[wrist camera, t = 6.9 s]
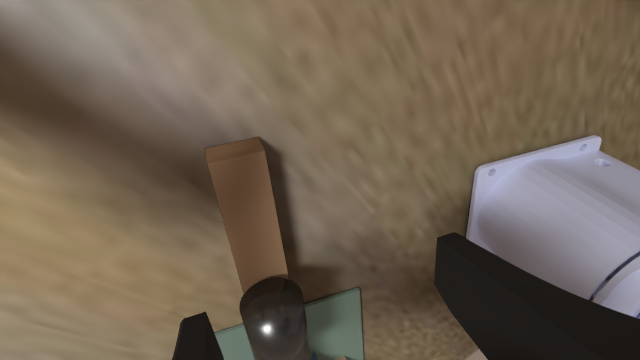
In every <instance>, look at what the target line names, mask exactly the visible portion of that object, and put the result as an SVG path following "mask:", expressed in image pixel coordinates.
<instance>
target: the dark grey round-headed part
mask: <svg viewBox="0 0 640 360" xmlns="http://www.w3.org/2000/svg"><path fill="white" fill-rule="evenodd" d="M240 313H241V316H242V320H243V323H244V327H245V330H246V333H247V337H248V340H249V343H250V347H251V350H252V354H253V357H254V360H318V359H317V356H316V353H313V354H312V350H311V343H310V337H309V331H308V325H307V319H306V313H305V307H304V301H303V295H302V292H301V289H300V288H299V286H298V285H297V284H295V283H294V282H293V281H291V280H288V279H285V278H268V279H264V280H262V281H259V282H257V283H256V284H254V285H252V286H251V287H250V288H249V289H248V290H247V291H246V292H245V293H244V295H243V297H242V299H241V301H240Z"/></svg>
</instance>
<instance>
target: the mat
mask: <svg viewBox="0 0 640 360" xmlns="http://www.w3.org/2000/svg"><path fill="white" fill-rule="evenodd" d="M304 307H305V313H306V319H307V325H308V331H309V337H310V343H311V350H312V354H313V353H316V356H317V359H318V360H334V359H337V358H340V357H342V356H345V358H346V360H364V358H363V340H362V322H361V304H360V289H359V288H358V287H357V288H354V289H351V290H348V291H345V292H342V293H338V294H335V295H332V296H329V297H326V298H323V299H319V300H316V301H313V302H310V303H307V304H304ZM214 334H215V336H216V339H217V341H218V344H219V346H220V349H221V351H222V354H223V357H224V360H254V357H253V354H252V350H251V347H250V343H249V340H248V337H247V333H246V330H245V327H244V324H241V325H238V326H234V327H231V328H228V329H225V330H222V331H219V332H216V333H214Z"/></svg>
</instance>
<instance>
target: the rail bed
mask: <svg viewBox="0 0 640 360" xmlns="http://www.w3.org/2000/svg"><path fill="white" fill-rule="evenodd" d="M205 153H206V159H207V165H208V168H209V172H210V175H211V179H212V182H213V186H214V190H215V193H216V197H217V200H218V204H219V208H220V211H221V215H222V218H223V222H224V225H225V229H226V233H227V236H228V240H229V243H230V247H231V250H232V254H233V258H234V261H235V265H236V268H237V272H238V276H239V279H240V283H241V286H242V290H243V293H245V292H246V291H247V290H248V289H249V288H250V287H251V286H252V285H254V284H256V283H257V282H259V281H262V280H264V279H268V278H285V279H288V280H289V277H288V272H287V267H286V261H285V256H284V250H283V245H282V240H281V234H280V229H279V224H278V218H277V213H276V208H275V202H274V197H273V192H272V186H271V181H270V176H269V170H268V165H267V159H266V154H265V150H264V148H263V145H262V143H261V141H260V139H259V137H254V138H250V139H245V140H241V141H236V142H232V143H227V144H223V145H218V146H214V147H209V148H205Z"/></svg>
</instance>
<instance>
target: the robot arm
mask: <svg viewBox="0 0 640 360" xmlns="http://www.w3.org/2000/svg"><path fill="white" fill-rule="evenodd" d="M600 145H601V138H600V137H598V136H596V135H593V136H589V137H585V138H581V139H578V140H574V141H570V142H566V143H563V144H559V145H555V146H551V147H548V148H544V149H540V150H536V151H533V152H529V153H525V154H521V155H518V156H514V157H510V158H506V159H503V160H499V161H495V162H491V163H488V164H484V165H481V166H479V167H478V168H477V169H476V171H475V175H474V182H473V189H472V197H471V204H470V212H469V219H468V227H467V234H466V238H464V237H462V236H461V235H459V234H457V233H455V232H453V233H450V234H447V235H444V236H441V237H438V238H437V248H436V264H435V279H434V284H435V286H436V288H437V289H438V291H439V293H440V295H441V296H442V298H443V300H444V301H445V303H446V305H447V306H448V308H449V309H450V311H451V313H452V314H453V315H454V317H455V318H456V319H457V320H458V322H459V323H460V324H461V326H462V327H463V328H464V330H465V331H466V332H467V334H468V335H469V336H470V337H471V339H472V340H473V341H474V342H475V344H476V345H477V346H478V348H479V349H480V350H481V351H482V353H483V354H484V355H485V356H486V358H487V359H488V360H640V170H637V169H635V168H633V167H631V166H629V165H627V164H625V163H623V162H621V161H619V160H617V159H615V158H613V157H611V156H609V155H607V154H605V153H603V152H601V151H599V148H600ZM490 170H491V171H490ZM489 171H490V172H489ZM496 255H498V256H499V257H498V256H496ZM172 360H224V357H223V354H222V351H221V349H220V346H219V344H218V341H217V339H216V336H215V334H214V331H213V329H212V326H211V324H210V321H209V319H208V316H207V314H206V312H203V313H200V314H197V315H194V316H191V317H188V318H185V319H183V320H182V322H181V323H180V328H179V334H178V338H177V343H176V347H175V351H174V355H173V359H172Z"/></svg>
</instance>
